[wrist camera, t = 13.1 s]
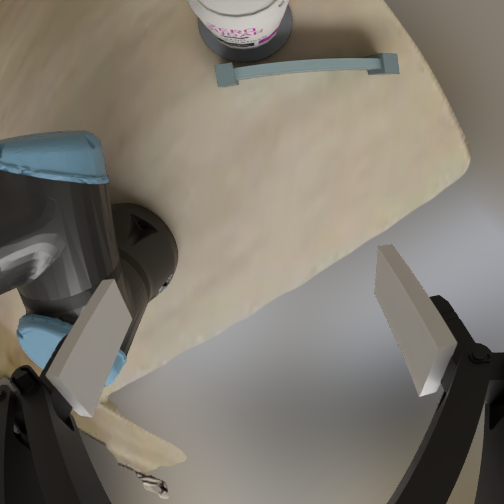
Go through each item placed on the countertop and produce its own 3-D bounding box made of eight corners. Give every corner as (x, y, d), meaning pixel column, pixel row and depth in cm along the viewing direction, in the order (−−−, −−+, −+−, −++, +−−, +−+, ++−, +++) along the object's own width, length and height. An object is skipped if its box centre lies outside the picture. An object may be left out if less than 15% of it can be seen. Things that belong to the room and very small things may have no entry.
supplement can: (265, -16, 26) (271, -71, 13) (289, 39, 30) (310, 9, 17) (200, 4, 27) (168, -40, 14) (223, 60, 31) (202, 41, 18)
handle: (223, 87, 33) (218, 86, 29) (220, 69, 32) (214, 65, 28) (381, 74, 32) (399, 73, 27) (379, 57, 31) (397, 53, 26)
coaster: (206, 69, 32) (206, 69, 32) (193, -8, 27) (192, -9, 26) (298, 56, 31) (298, 56, 31) (283, -21, 26) (284, -22, 26)
